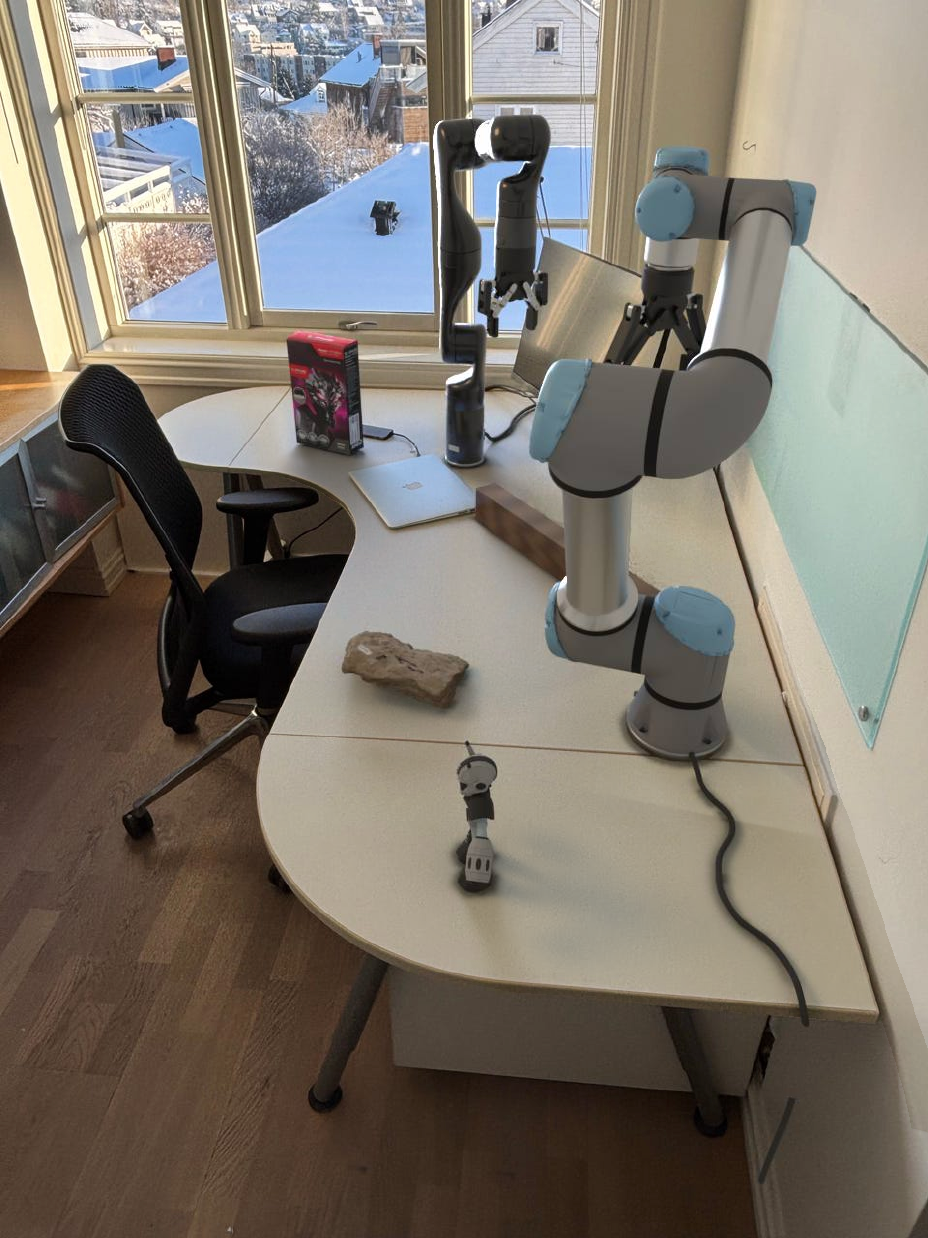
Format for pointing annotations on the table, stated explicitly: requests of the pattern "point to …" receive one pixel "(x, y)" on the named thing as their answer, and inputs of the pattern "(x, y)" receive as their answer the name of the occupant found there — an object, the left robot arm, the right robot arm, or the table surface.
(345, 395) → the graphics card box
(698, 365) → the right robot arm
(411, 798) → the table surface
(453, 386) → the left robot arm
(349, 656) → the stone
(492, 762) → the robot
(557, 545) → the beam
